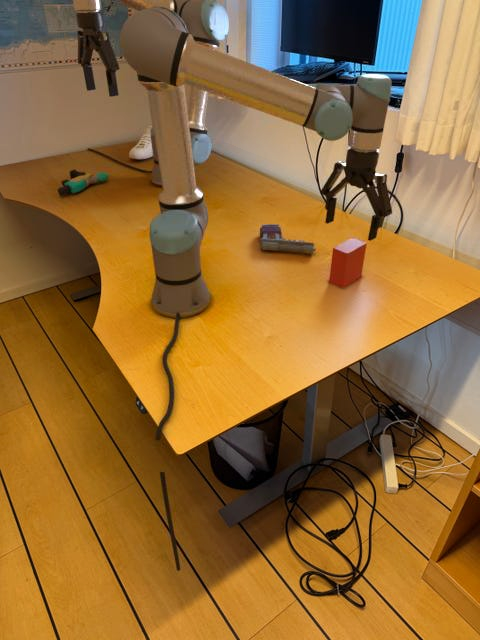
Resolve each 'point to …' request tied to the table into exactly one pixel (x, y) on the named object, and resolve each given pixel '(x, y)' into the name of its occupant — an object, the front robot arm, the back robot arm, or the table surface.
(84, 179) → the toy gun
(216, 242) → the table surface
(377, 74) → the front robot arm
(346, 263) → the block
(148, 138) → the sneaker
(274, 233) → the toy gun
